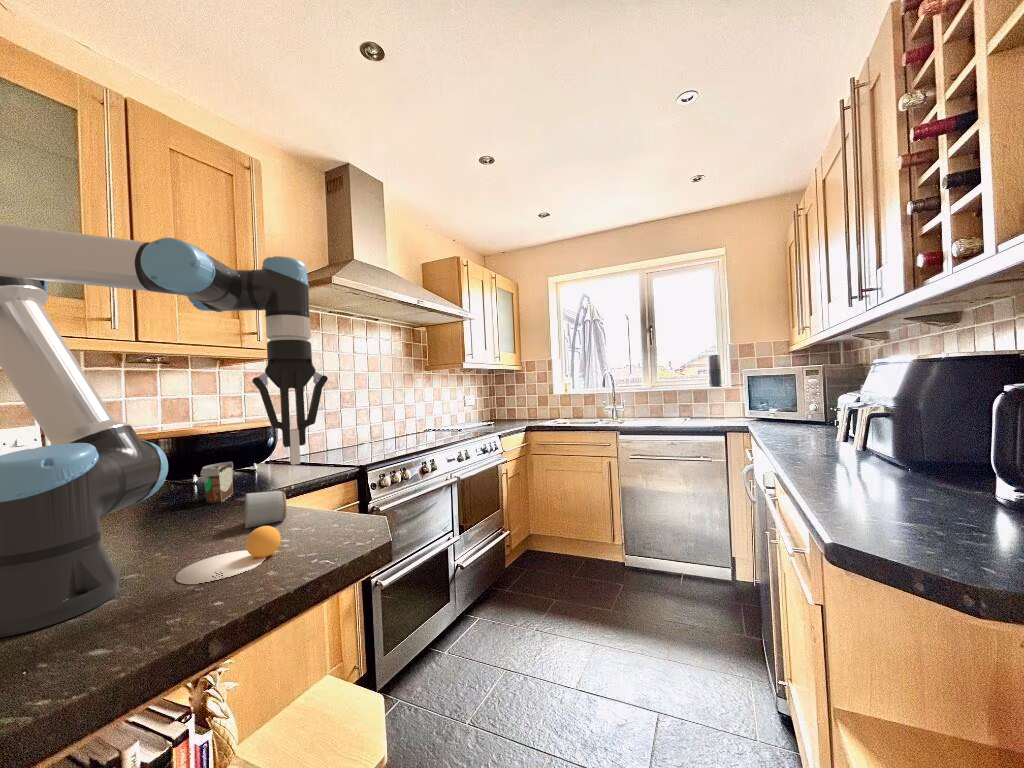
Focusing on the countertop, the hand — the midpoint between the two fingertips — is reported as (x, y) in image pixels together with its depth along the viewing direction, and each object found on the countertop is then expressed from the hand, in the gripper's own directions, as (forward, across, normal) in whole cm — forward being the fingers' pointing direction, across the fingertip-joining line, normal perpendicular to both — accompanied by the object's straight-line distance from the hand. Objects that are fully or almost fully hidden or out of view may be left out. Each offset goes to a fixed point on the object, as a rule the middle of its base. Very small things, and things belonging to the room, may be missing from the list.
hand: (295, 463), depth 79 cm
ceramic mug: (+17, +5, -24) cm, 30 cm away
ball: (+14, +6, 0) cm, 15 cm away
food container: (+17, +16, -61) cm, 65 cm away
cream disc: (+16, +12, 0) cm, 20 cm away
